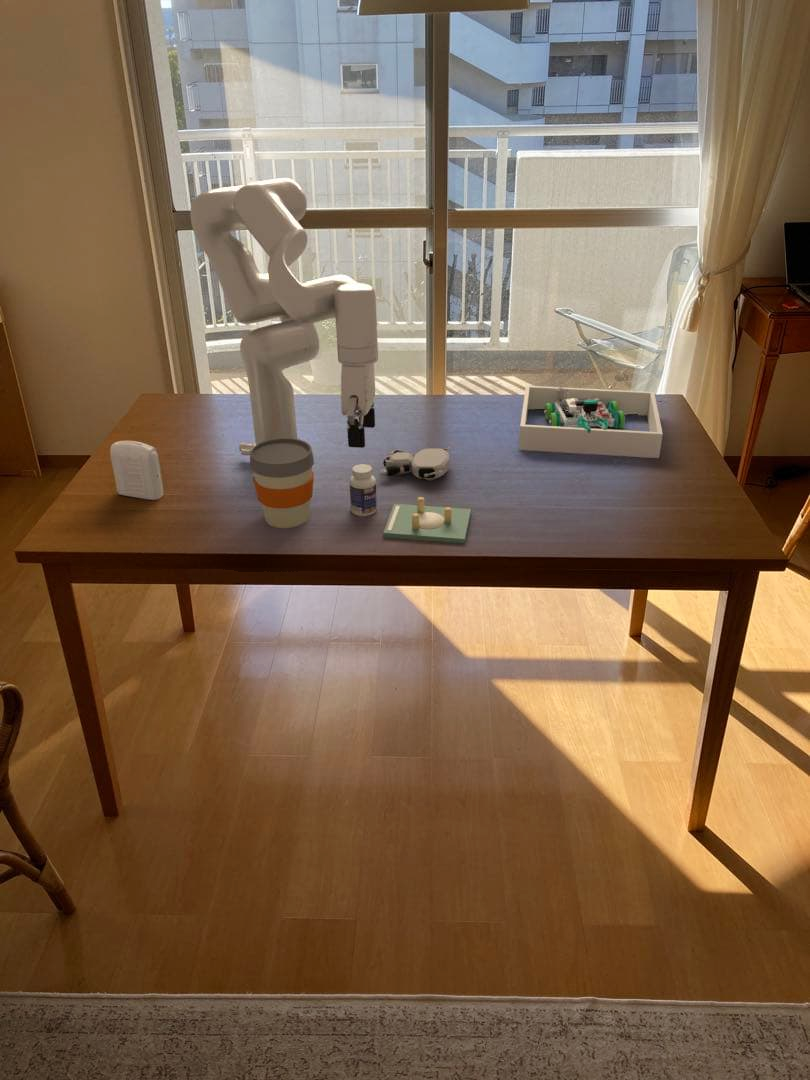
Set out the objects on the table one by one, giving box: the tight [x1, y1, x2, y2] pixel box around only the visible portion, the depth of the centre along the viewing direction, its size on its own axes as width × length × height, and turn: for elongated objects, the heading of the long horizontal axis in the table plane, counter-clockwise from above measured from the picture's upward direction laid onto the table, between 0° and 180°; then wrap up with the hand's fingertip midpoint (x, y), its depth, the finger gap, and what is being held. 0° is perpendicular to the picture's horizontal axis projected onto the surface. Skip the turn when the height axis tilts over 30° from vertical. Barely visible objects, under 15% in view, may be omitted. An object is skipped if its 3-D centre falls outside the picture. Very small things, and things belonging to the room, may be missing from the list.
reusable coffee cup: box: [249, 438, 315, 529], centre depth 175 cm, size 13×13×15 cm
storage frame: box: [518, 385, 664, 459], centre depth 212 cm, size 32×26×6 cm
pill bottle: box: [349, 463, 378, 517], centre depth 178 cm, size 5×5×10 cm
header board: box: [382, 496, 472, 544], centre depth 174 cm, size 16×12×4 cm
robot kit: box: [543, 386, 626, 433], centre depth 211 cm, size 19×25×9 cm
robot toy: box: [379, 447, 451, 481], centre depth 195 cm, size 12×4×15 cm
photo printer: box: [109, 440, 164, 501], centre depth 185 cm, size 10×4×12 cm, turn 73°
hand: (362, 436), depth 172 cm, fingers open, 9 cm apart
